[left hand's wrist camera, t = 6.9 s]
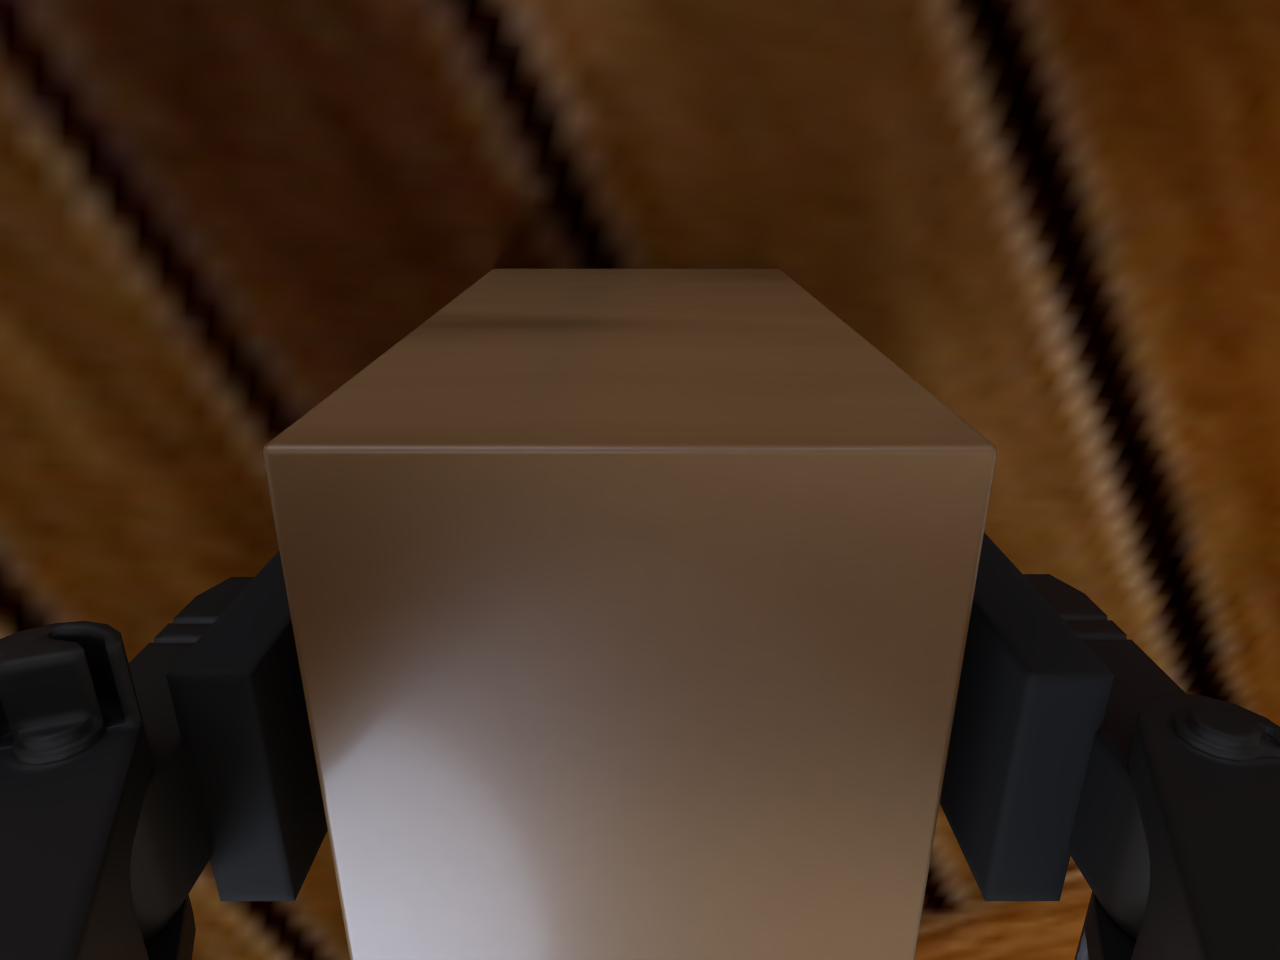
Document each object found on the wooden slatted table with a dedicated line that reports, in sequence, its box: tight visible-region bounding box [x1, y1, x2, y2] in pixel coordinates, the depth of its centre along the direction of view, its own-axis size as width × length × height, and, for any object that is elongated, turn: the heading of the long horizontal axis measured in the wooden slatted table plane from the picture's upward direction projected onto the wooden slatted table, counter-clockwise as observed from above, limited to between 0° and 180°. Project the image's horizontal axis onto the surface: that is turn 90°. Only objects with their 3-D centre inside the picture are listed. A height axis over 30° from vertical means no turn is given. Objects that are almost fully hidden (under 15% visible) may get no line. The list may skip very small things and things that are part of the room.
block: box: [263, 269, 997, 960], centre depth 13 cm, size 7×6×11 cm
